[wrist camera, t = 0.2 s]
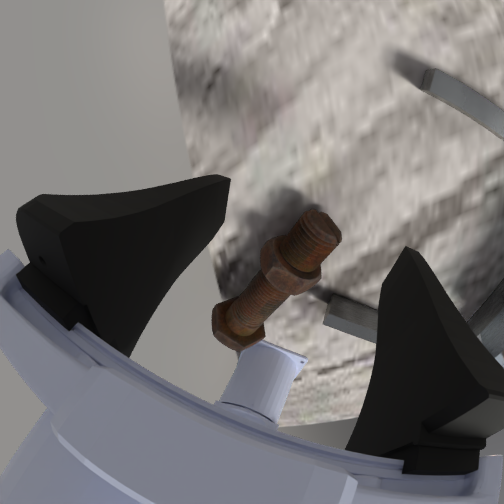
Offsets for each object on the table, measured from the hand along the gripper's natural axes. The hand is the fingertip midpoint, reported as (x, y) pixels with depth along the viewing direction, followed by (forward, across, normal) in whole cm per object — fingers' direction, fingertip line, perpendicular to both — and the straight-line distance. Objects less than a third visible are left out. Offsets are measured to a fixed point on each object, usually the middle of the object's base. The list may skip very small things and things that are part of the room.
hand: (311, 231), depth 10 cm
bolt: (+8, -1, +3) cm, 8 cm away
